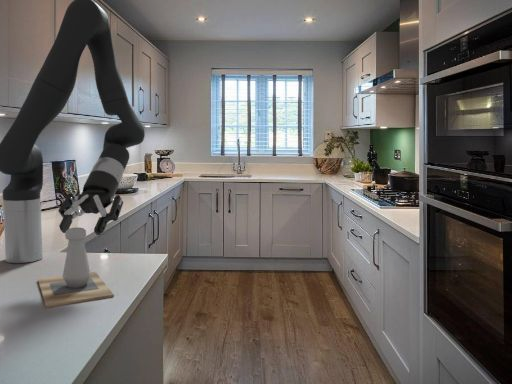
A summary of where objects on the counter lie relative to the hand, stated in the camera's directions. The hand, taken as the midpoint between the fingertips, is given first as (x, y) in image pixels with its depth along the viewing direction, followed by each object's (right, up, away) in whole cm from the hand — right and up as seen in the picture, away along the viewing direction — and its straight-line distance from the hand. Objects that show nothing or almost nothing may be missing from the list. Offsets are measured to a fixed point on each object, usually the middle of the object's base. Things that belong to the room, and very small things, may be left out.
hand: (79, 232), depth 100 cm
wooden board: (0, -12, -2) cm, 13 cm away
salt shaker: (0, -12, -2) cm, 12 cm away
